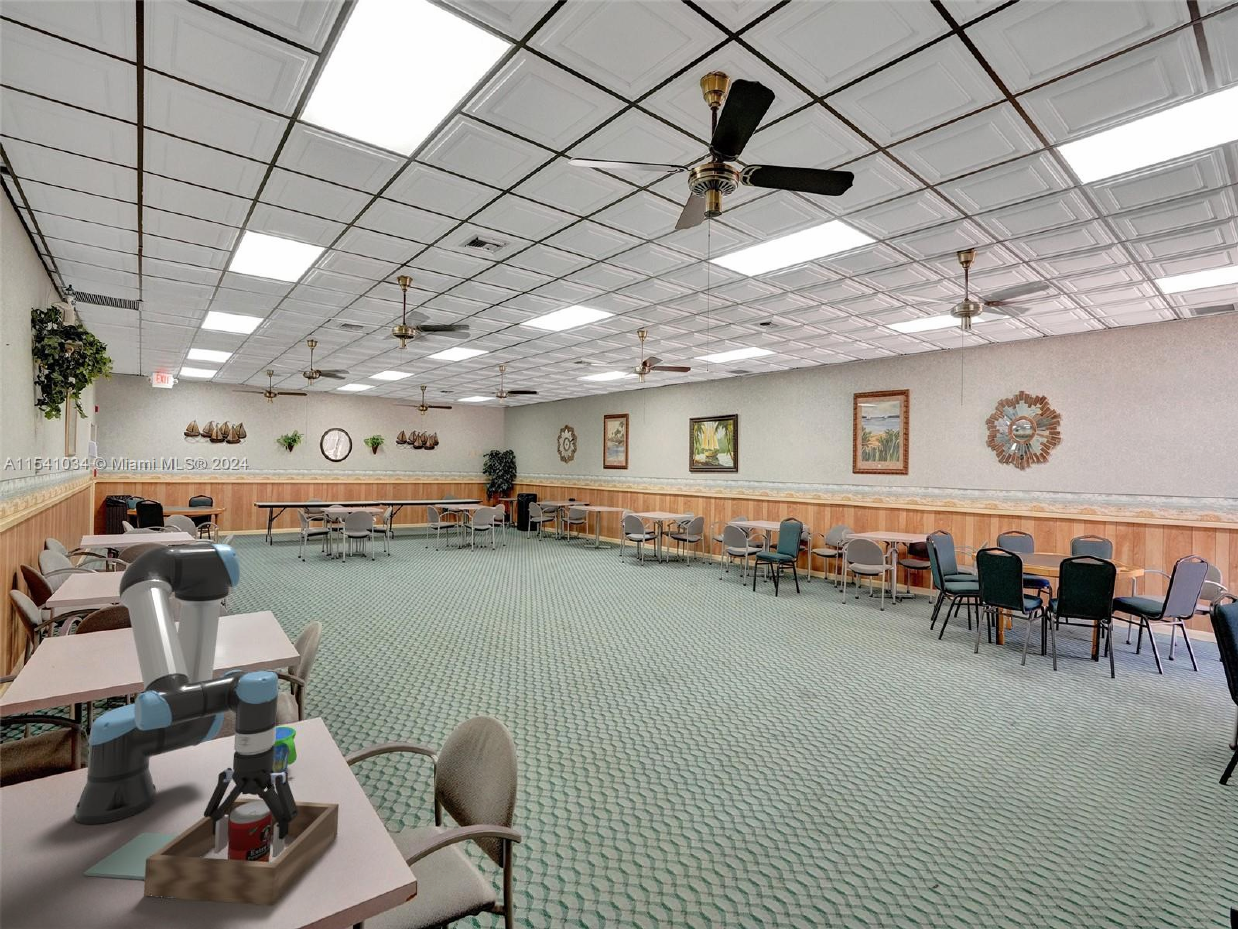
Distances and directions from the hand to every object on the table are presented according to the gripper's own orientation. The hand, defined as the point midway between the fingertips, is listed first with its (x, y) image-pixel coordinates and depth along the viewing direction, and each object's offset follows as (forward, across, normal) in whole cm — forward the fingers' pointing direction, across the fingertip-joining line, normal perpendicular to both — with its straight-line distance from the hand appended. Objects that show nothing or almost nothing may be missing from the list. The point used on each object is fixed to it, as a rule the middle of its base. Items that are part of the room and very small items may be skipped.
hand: (249, 851), depth 125 cm
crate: (+2, 0, 0) cm, 2 cm away
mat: (+2, -23, 0) cm, 23 cm away
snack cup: (+3, -21, +39) cm, 44 cm away
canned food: (+3, 0, 0) cm, 3 cm away
